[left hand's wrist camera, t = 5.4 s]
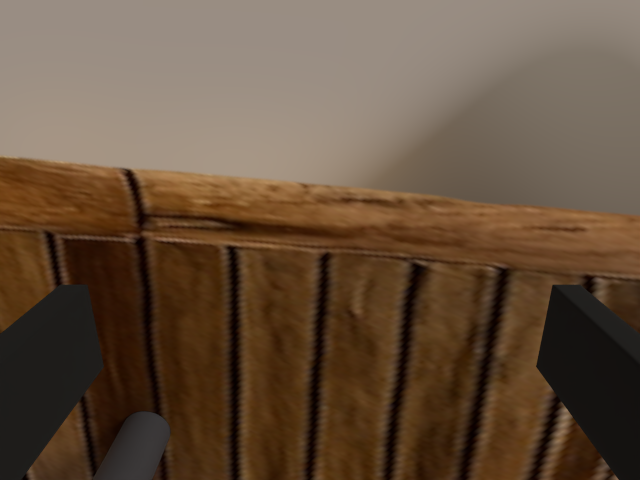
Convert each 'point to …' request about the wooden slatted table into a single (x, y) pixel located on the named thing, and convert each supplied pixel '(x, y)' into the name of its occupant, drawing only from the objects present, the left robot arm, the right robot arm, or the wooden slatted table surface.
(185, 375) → the wooden slatted table surface
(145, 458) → the jar
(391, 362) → the wooden slatted table surface
